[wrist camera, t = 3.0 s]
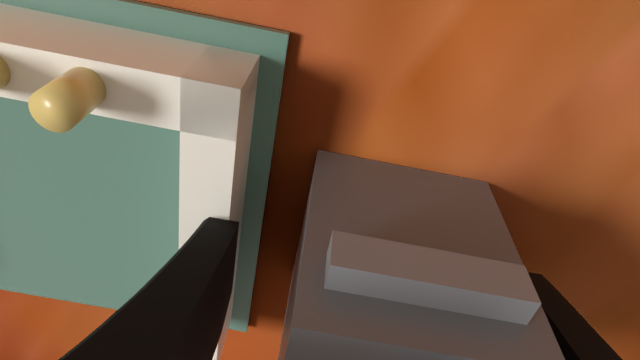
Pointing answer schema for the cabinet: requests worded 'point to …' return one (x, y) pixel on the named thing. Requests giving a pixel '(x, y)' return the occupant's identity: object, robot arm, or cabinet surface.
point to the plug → (408, 271)
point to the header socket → (130, 144)
